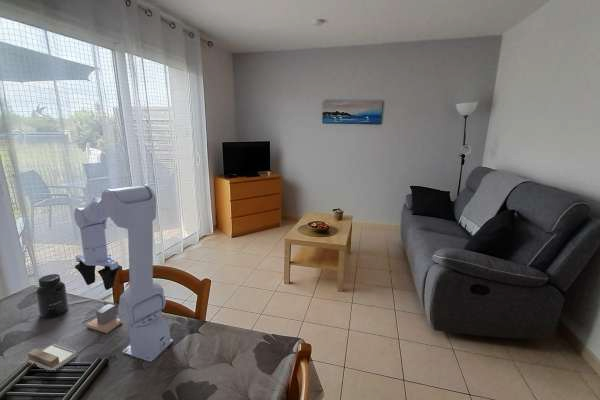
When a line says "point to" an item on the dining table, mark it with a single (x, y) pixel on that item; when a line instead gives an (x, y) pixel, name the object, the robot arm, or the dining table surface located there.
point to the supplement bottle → (51, 296)
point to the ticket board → (59, 354)
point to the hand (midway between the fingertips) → (100, 285)
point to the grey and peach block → (105, 319)
